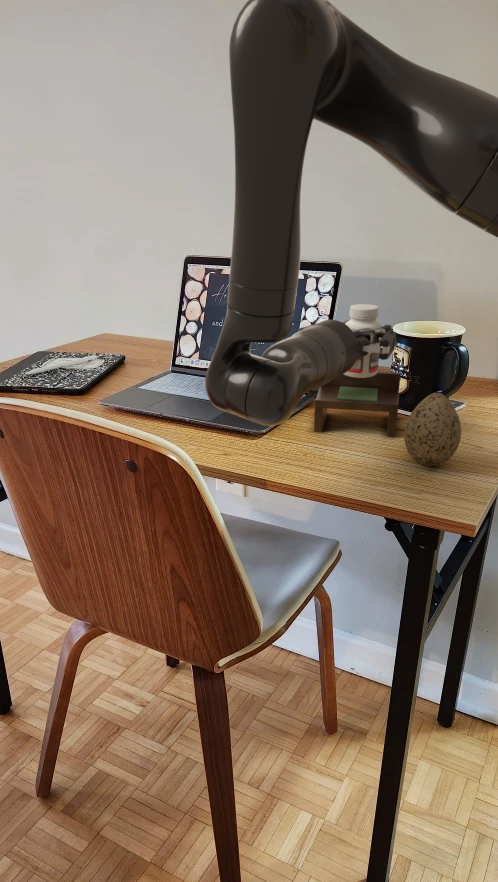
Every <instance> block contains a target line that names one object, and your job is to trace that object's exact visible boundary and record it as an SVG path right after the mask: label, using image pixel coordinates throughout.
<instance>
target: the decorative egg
mask: <svg viewBox="0 0 498 882" xmlns="http://www.w3.org/2000/svg"><path fill="white" fill-rule="evenodd" d="M403 435H404V436H403V439H404V444H405V448H406V451H407V453H408V454H409V456H410V457H411V458H412V460H414V461H415V462H416V463H418V464H420V465H422V466H426V467H436V466H439V465H443V464H444V463H446V462H447V461H449V460H450V459H451V458H452V457H453V456H454V455H455V453H456V452H457V450H458V448H459V447H460V442H461V439H462V424H461V420H460V416H459V414H458V412H457V410H456V408H455V407H454V405H453V403H452V402H451V401H450V399H448V397H447V396H446V395H445V394H443V393H441V392H433V393H432V392H431V394H429V395H428V396H425V398H424V399H422V400H421V401H419V403H418V404H417V405H416V406H415V408H414V409H413V410H412V412H411V414H410V415H409V416H408V419H407V422H406V424H405V427H404V434H403Z"/></svg>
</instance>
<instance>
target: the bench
mask: <svg viewBox="0 0 498 882" xmlns="http://www.w3.org/2000/svg"><path fill="white" fill-rule="evenodd" d="M401 375H402V374H401V372H399V371H383V370H382V371H380V370H378V371H377V374H376V375H374V376H372V377H366V378H356V377H350V376H346V375H344V374H342V375H341V376H339V377H337V378H335V379H334V380H332V381H330V382H328V383H327V384H325V385H323V386H320V387H319V389H318V391H317V395H316V397H315V400H314V420H313V432H314V433H315V432H316V433H322V432H323V429H324V427H325V426H324V425H325V422H326V419H327V416H328V409H331V410H346V411H347V410H348V411H364V412H381V413H388V415H387V427H386V428H387V429H386V437H388V438H395V437H396V433H397V424H398V414H399V403H400V402H399V401H400V384H401Z"/></svg>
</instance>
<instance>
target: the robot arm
mask: <svg viewBox="0 0 498 882" xmlns="http://www.w3.org/2000/svg"><path fill="white" fill-rule="evenodd" d="M228 49H229V50H228V51H229V52H228V57H229V59H228V60H229V75H230V76H229V77H230V94H231V95H230V96H231V106H232V120H233V121H232V122H233V135H234V138H233V139H234V165H235V166H234V210H233V211H234V212H233V229H232V243H231V255H230V264H229V265H230V267H229V278H228V291H227V302H226V315H225V319H224V321H223V324H222V328H221V331H220V334H219V337H218V340H217V342H216V343H217V344H216V346H215V349H214V351H213V355H212V357H211V359H210V362H209V365H208V367H207V370H206V374H205V380H204V381H205V382H204V385H205V386H204V387H205V392H206V395H207V397H208V400H209V401H210V403H211V404H212V405H213V406H214V407H215V408H216V409H218V410H220V411H223V412H226V413H228V414H231V415H234V416H236V417H239V418H242V419H245V420H247V421H249V422H253V423H255V424H257V425H262V426H265V427H270V426H271V427H273V426H278V425H281V424H283V423H285V422H287V421H288V420H289V419H290V417H291V416H292V414H293V413H294V411H295V409H296V407H297V405H298V404H299V402H300V401H301V400H302V398H303V397H304V395H306V394H307V393H309V392H310V391H312V390H314V389H317V388H320V386H323V385H325V384H327V383H328V382H330V381H332V380H334V379H335V378H337V377H339V376H341V375H342V374H344V373H346V372H347V371H348V370H350V369H351V368H352V366H353V365H354V364H355V362H356V360H357V359H358V357H362V356H366V355H368V354H371V353H377V356H379V359H380V360H381V361H385V360H388V359H389V358H390V356H391V355H392V354H393V352H394V351H395V345H396V337H397V336H396V335H397V332H396V331H394V328H392V324H385V325H382V327H381V328H379V329H376V330H374V329H370V328H362V329H357V330H356V329H350V328H349V327H348V326H347V325H346V324H345V323H346V322H348V321H350V320H351V319H350V320H349V319H346V320H344V321H340V320H337V319H325V320H322V321H320V322H317V323H314V324H309V325H307V326H303V327H299V328H297V331H296V332H295V333H294V334H292V335H291V336H290V337H288V335H289V334H290V332H291V329H292V326H293V322H294V314H295V309H296V307H295V306H296V300H297V293H298V292H297V291H298V285H299V276H300V270H301V269H300V268H301V253H302V252H301V249H302V231H301V192H302V191H301V190H302V177H303V171H304V163H305V156H306V151H307V145H308V141H309V137H310V132H311V130H312V125H313V121H314V120H315V121H317V122H319V123H322V124H324V125H326V126H328V127H331V128H333V129H335V130H337V131H339V132H340V133H343V134H346V136H347V135H348V136H349V137H351V138H353V139H355V140H357V141H359V142H361V143H362V144H364V145H365V146H367V147H369V148H370V149H371V150H372V151H374V152H375V153H376V154H378V155H379V156H380V157H381V158H382V159H384V160H385V161H386V162H387V163H388V164H389V165H390V166H391V167H393V168H394V169H395V170H396V171H397V172H398V173H399V175H401V176H403V178H405V179H406V180H407V181H408V182H410V183H411V184H412V185H413V186H414V187H416V188H417V189H418V190H419V191H421V192H422V193H423V194H424V195H426V197H428V198H429V199H431V200H433V201H434V202H435V203H437V204H438V205H440V207H443V208H444V209H445V210H447V211H449V212H450V213H453V214H454V215H455V216H456V217H459V218H460V219H463V220H464V221H466V222H468V223H469V224H472V225H473V226H474V227H476V228H478V229H480V230H482V231H484V232H485V233H487V234H489V235H492V236H494V237H495V238H497V239H498V96H496V95H493V94H491V93H489V92H486V91H484V90H482V89H480V88H478V87H476V86H473V85H471V84H468V83H466V82H463V81H461V80H459V79H455V78H454V77H450V76H447V75H445V74H443V73H440V72H437V71H435V70H431V69H429V68H426V67H423V66H422V65H419V64H417V63H415V62H413V61H411V60H409V59H408V58H406V57H404V56H402V55H400V54H399V53H397V52H396V51H395V50H392V49H391V48H390V47H388V46H387V45H385V44H384V43H382V42H381V41H380V40H378V39H377V38H376V37H374V36H373V35H371V34H370V33H368V32H367V31H366V30H365V29H363V28H362V27H360V26H359V25H358V24H357V23H355V22H354V21H352V20H351V19H350V18H349V17H348V16H346V15H345V14H344V13H342V12H341V11H340V10H339V9H337V7H336V6H334V4H333V3H331V2H330V1H329V0H247V1H246V2H245V4H244V5H243V7H242V8H241V9H240V11H239V12H238V14H237V17H236V19H235V21H234V23H233V25H232V30H231V34H230V38H229V45H228ZM375 336H376V340H375V343H374V337H375ZM271 343H274V344H272V345H271V346H269V347H268V348H267V349H266V350H265V351H264V352H263V353H262V354H261V356H259V355H255V354H253V353H251V347H252V344H271Z"/></svg>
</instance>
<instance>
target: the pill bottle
mask: <svg viewBox="0 0 498 882" xmlns="http://www.w3.org/2000/svg"><path fill="white" fill-rule="evenodd" d="M349 317H350V321H348V322H346V323H345V324H346V325H347V326H348V327H349V328H350V329H356V330H357V329H362V328H370V329H374V330H376V329H379V328H381V327H383V325H382V324H381V322H379V321H378V320H377V319H378V318H379V306H378V305H375V304H369V303H357V304H352V305H350V306H349ZM375 340H376V336H375V337H374V343H375ZM379 363H380V362H379V356H377V353H371V354H368V355H366V356H362V357H358V359H357V360H356V362H355V364H354V365H353V366H352V368H351V369H350V370H348V371H347V372H346V373H344V375H346V376H350V377H356V378H366V377H372V376H374V375H376V374H377V371H379Z"/></svg>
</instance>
